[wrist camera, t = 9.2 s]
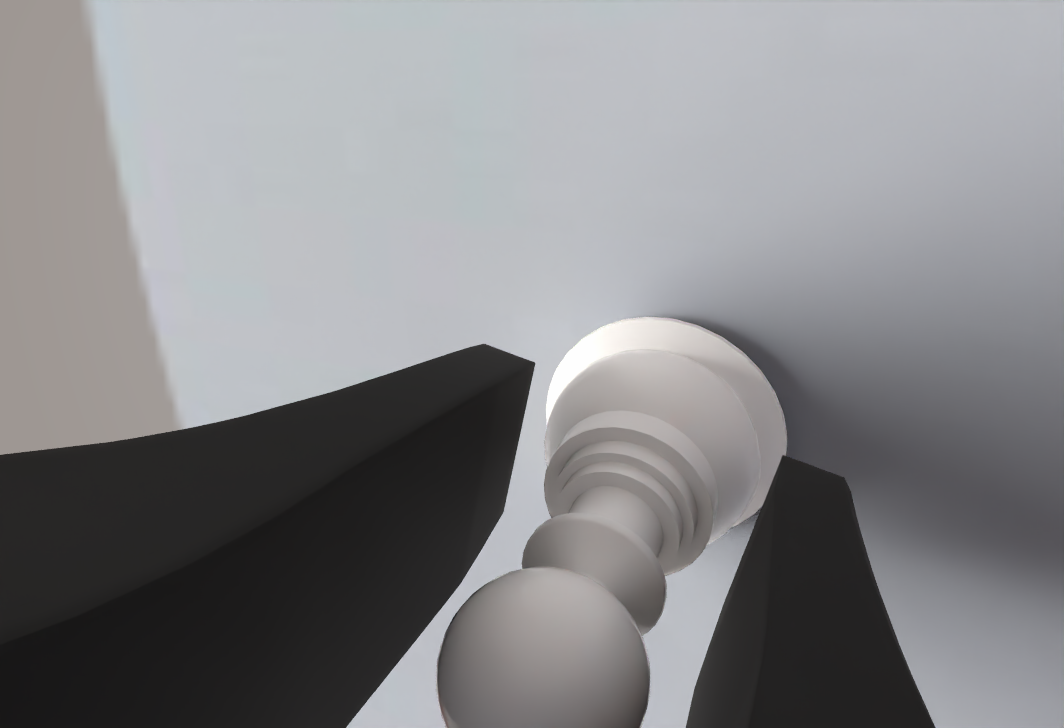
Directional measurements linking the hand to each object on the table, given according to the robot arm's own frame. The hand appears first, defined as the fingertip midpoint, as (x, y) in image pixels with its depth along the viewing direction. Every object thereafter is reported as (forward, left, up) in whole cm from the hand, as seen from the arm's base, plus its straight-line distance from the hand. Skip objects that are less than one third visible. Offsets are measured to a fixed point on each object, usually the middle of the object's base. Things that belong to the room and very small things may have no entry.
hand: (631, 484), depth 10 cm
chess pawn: (0, 0, -2) cm, 2 cm away
